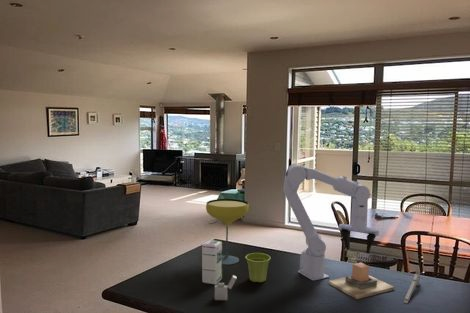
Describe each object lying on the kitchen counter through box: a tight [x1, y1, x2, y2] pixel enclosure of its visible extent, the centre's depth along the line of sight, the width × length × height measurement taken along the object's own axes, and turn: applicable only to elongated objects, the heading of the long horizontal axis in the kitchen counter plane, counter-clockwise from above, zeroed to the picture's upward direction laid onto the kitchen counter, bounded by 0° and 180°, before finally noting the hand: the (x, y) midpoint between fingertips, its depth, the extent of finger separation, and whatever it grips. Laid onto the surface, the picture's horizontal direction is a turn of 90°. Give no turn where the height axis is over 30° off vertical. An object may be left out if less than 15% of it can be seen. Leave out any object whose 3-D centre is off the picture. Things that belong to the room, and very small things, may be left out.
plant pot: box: [245, 252, 272, 283], centre depth 137 cm, size 9×9×9 cm
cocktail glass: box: [205, 198, 250, 266], centre depth 156 cm, size 18×18×25 cm
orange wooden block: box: [351, 262, 370, 283], centre depth 132 cm, size 4×4×7 cm
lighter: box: [214, 274, 237, 301], centre depth 121 cm, size 7×2×8 cm, turn 88°
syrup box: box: [201, 239, 223, 285], centre depth 135 cm, size 6×6×14 cm
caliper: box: [403, 268, 421, 304], centre depth 128 cm, size 20×1×6 cm, turn 143°
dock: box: [328, 274, 395, 300], centre depth 133 cm, size 14×18×3 cm
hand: (357, 250), depth 141 cm, fingers open, 7 cm apart
